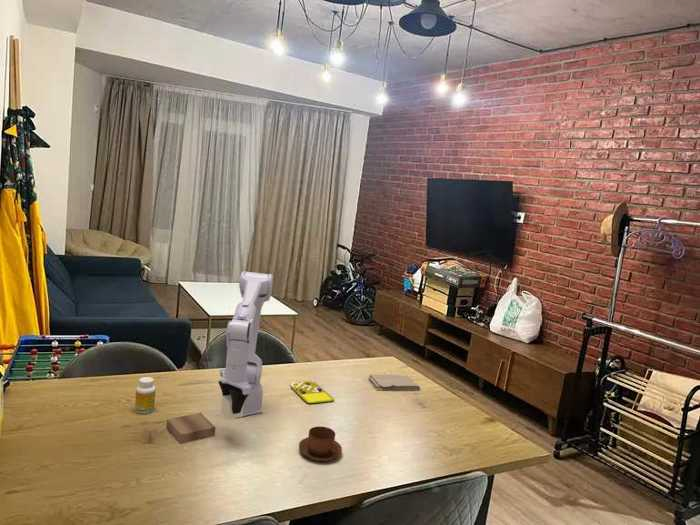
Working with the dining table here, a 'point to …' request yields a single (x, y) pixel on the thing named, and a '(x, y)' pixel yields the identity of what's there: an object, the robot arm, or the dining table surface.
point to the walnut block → (190, 427)
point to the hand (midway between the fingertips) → (232, 409)
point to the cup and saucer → (320, 444)
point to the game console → (311, 393)
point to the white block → (229, 408)
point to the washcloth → (393, 383)
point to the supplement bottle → (145, 396)
